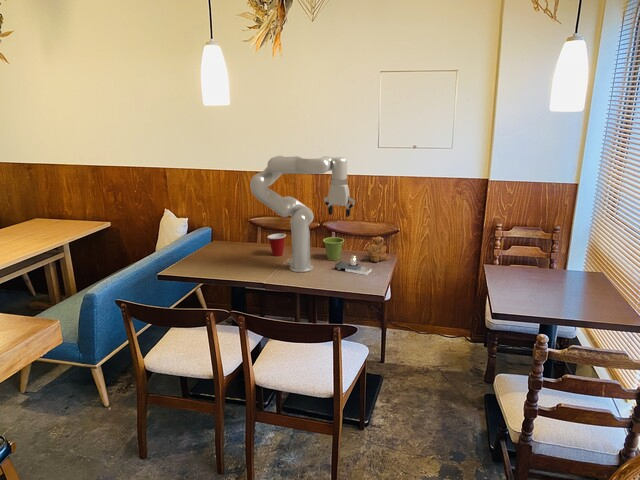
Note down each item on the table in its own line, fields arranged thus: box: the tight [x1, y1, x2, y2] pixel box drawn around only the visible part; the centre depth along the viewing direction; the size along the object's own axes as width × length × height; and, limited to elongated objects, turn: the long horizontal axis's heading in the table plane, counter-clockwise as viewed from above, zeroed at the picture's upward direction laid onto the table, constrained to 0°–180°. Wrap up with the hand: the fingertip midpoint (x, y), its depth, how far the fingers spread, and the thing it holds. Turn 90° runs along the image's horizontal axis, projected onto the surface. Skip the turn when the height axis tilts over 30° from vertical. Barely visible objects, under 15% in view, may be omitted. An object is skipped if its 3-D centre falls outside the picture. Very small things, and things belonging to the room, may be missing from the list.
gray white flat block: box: [334, 260, 373, 276], centre depth 257 cm, size 18×7×3 cm, turn 62°
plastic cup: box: [267, 233, 287, 257], centre depth 283 cm, size 11×11×12 cm
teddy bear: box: [365, 236, 391, 263], centre depth 272 cm, size 10×14×13 cm
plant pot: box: [322, 236, 345, 261], centre depth 275 cm, size 12×12×11 cm
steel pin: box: [349, 254, 357, 267], centre depth 256 cm, size 3×3×8 cm
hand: (339, 215), depth 247 cm, fingers open, 9 cm apart
